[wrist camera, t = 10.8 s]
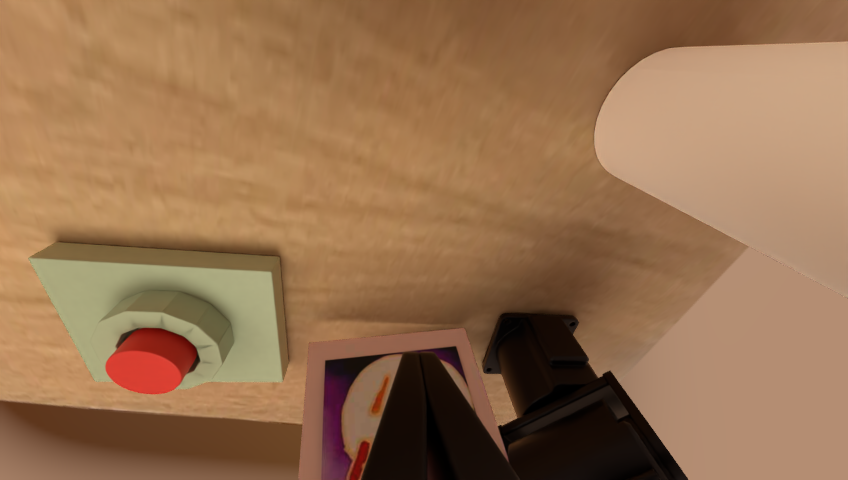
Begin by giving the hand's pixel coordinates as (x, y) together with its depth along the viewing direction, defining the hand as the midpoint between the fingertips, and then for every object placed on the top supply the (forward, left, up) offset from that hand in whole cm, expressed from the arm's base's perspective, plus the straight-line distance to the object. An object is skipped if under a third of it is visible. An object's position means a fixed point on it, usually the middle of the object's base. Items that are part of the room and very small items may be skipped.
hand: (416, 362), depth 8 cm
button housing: (-10, +13, -12) cm, 20 cm away
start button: (-10, +13, -9) cm, 19 cm away
